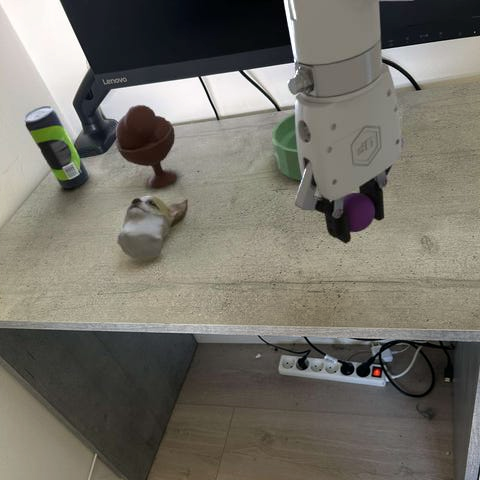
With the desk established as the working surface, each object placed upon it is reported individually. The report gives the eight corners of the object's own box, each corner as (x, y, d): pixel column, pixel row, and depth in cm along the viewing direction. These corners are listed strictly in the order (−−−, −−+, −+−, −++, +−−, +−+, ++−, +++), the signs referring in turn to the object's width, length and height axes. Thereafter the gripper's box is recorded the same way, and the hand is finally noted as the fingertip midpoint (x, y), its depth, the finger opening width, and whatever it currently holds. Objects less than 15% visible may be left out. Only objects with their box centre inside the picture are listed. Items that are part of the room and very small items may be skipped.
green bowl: (326, 127, 93) (322, 96, 89) (383, 152, 83) (383, 118, 79) (262, 164, 90) (255, 134, 86) (314, 194, 80) (309, 162, 76)
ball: (357, 211, 59) (354, 180, 56) (384, 225, 56) (382, 193, 53) (329, 229, 58) (324, 199, 55) (355, 245, 55) (351, 214, 52)
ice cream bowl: (196, 162, 96) (170, 86, 85) (176, 197, 89) (146, 119, 79) (149, 165, 100) (119, 92, 89) (127, 198, 93) (91, 124, 82)
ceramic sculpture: (88, 227, 73) (122, 175, 83) (111, 272, 79) (140, 218, 89) (153, 222, 70) (180, 168, 80) (172, 268, 76) (195, 213, 86)
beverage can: (93, 170, 104) (57, 102, 93) (83, 187, 100) (45, 118, 89) (67, 175, 106) (29, 108, 95) (57, 191, 102) (16, 124, 91)
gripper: (289, 121, 40) (321, 280, 53) (439, 32, 43) (434, 202, 56) (240, 100, 45) (280, 250, 58) (378, 22, 48) (387, 180, 61)
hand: (356, 225), depth 57 cm, fingers closed on ball, 4 cm apart
